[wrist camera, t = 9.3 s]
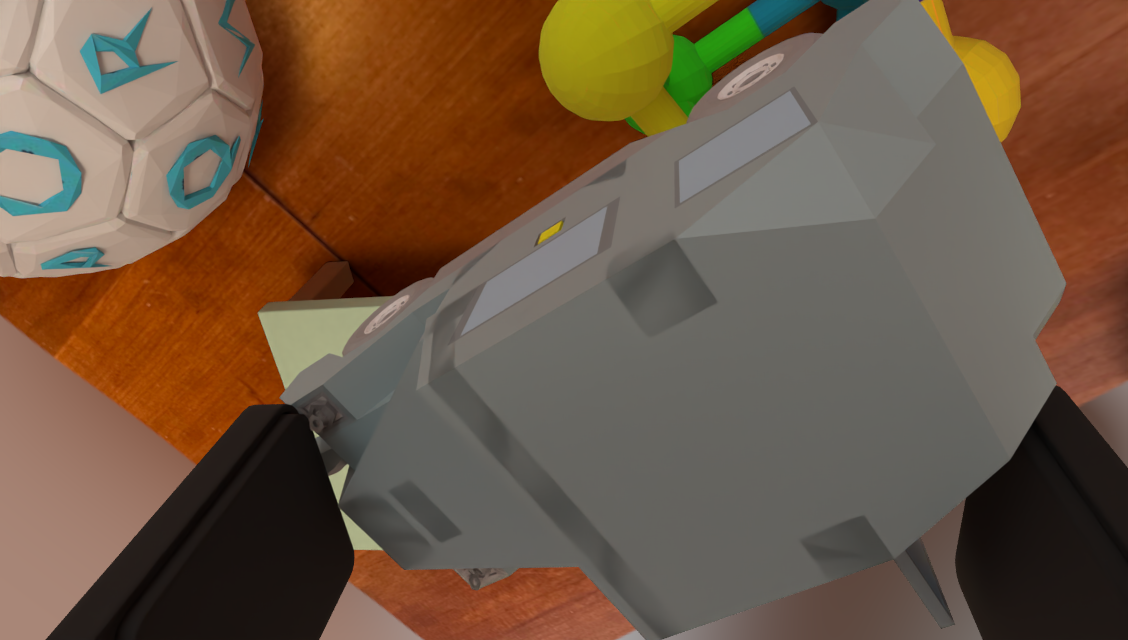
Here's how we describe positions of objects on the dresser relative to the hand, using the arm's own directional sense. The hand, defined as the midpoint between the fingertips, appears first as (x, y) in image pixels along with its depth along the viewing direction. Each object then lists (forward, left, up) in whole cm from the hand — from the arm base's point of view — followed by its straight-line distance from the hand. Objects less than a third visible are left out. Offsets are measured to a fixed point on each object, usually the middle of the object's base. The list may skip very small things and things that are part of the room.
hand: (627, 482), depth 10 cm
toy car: (-1, +1, -3) cm, 3 cm away
